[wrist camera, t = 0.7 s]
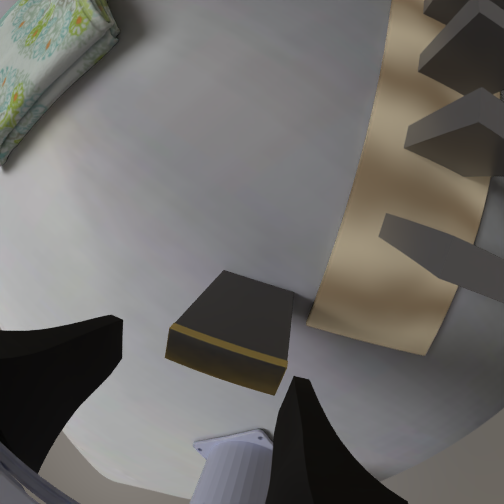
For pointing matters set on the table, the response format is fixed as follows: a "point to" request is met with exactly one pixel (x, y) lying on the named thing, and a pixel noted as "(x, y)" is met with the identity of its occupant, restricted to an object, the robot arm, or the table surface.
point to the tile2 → (446, 256)
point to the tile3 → (463, 135)
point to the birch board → (397, 206)
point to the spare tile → (236, 333)
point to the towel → (46, 57)
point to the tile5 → (448, 8)
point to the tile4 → (468, 50)
